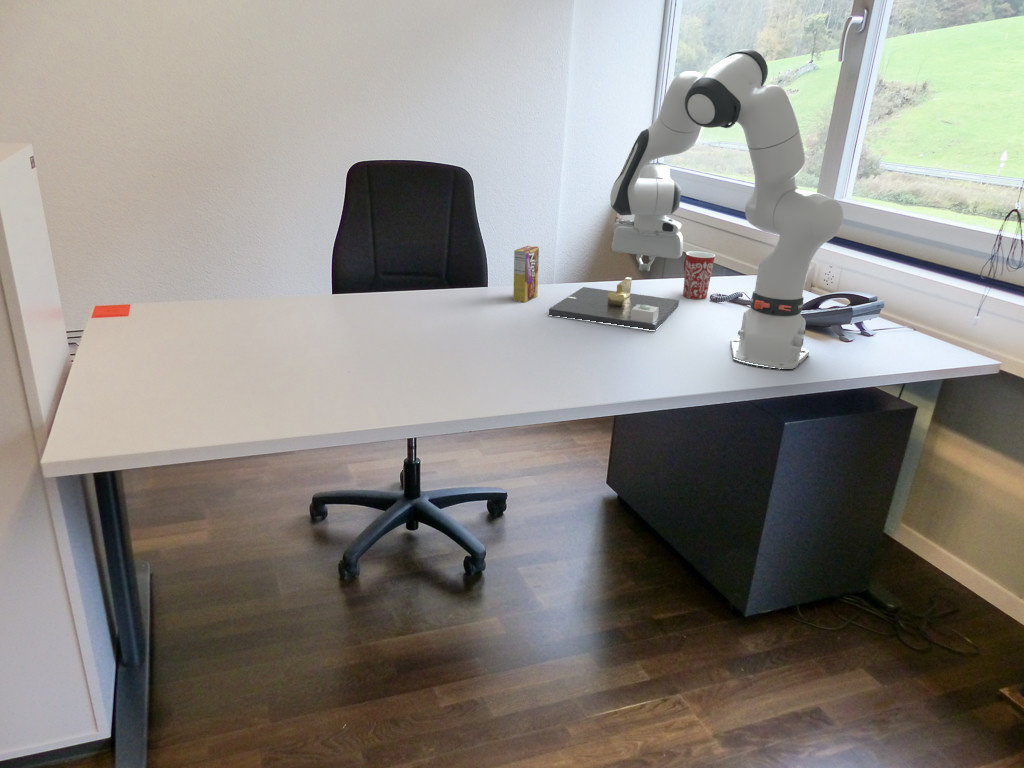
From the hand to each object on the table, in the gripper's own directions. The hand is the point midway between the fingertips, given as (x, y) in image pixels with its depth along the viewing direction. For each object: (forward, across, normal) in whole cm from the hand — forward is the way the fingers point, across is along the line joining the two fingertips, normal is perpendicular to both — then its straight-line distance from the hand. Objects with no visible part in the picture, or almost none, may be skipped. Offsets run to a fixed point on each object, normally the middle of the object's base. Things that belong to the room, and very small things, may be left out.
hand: (644, 270), depth 215 cm
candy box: (+12, -34, -8) cm, 36 cm away
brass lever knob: (+9, -5, -3) cm, 11 cm away
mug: (+11, +12, +24) cm, 29 cm away
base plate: (+11, -5, -8) cm, 15 cm away
